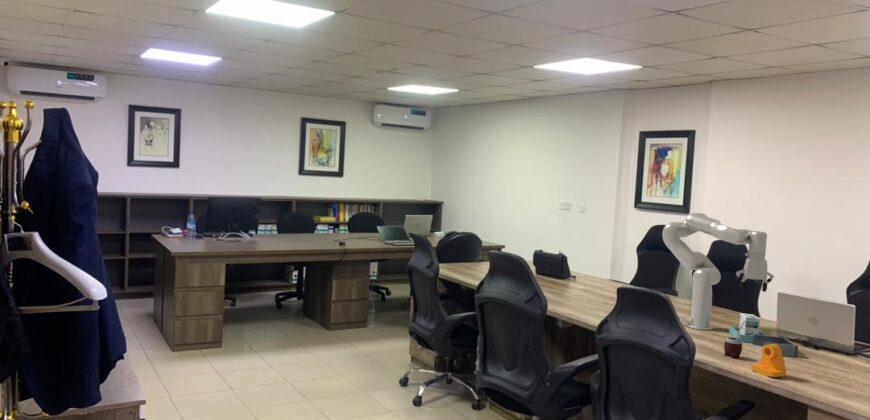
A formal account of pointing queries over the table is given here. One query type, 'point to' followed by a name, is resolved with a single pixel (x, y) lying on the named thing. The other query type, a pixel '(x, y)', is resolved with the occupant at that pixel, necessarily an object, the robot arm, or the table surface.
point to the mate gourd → (733, 346)
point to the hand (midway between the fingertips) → (753, 290)
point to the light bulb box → (749, 324)
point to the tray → (743, 338)
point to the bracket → (770, 362)
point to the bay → (785, 344)
